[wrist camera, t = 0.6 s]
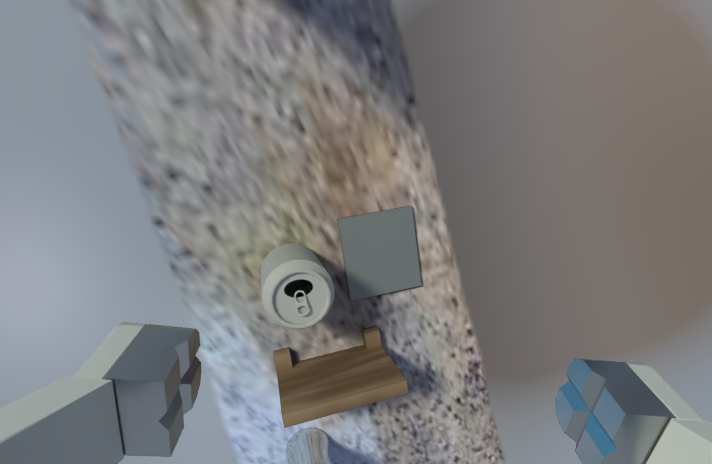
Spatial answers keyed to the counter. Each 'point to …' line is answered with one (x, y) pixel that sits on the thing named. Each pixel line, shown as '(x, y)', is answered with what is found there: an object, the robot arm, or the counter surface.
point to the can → (295, 287)
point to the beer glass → (308, 447)
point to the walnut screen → (336, 380)
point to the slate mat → (380, 252)
